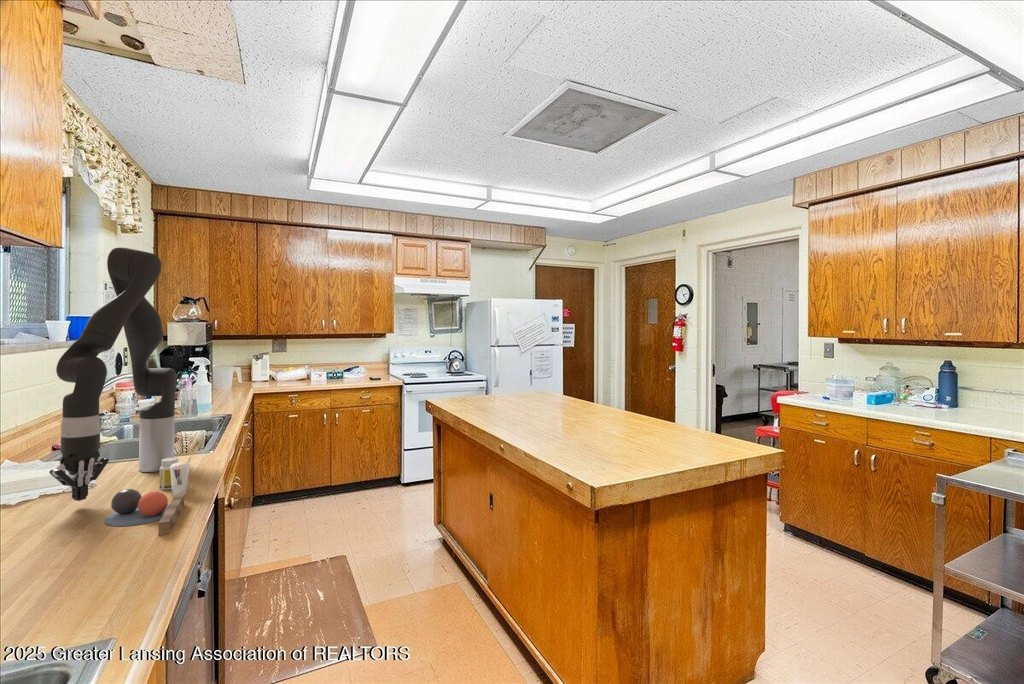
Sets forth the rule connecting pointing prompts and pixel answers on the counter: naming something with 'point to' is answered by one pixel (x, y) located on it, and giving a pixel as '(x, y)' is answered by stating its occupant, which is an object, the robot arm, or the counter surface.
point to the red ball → (152, 503)
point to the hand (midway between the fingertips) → (80, 499)
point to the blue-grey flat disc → (131, 518)
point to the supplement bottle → (166, 473)
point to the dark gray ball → (126, 501)
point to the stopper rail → (171, 514)
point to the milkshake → (179, 477)
